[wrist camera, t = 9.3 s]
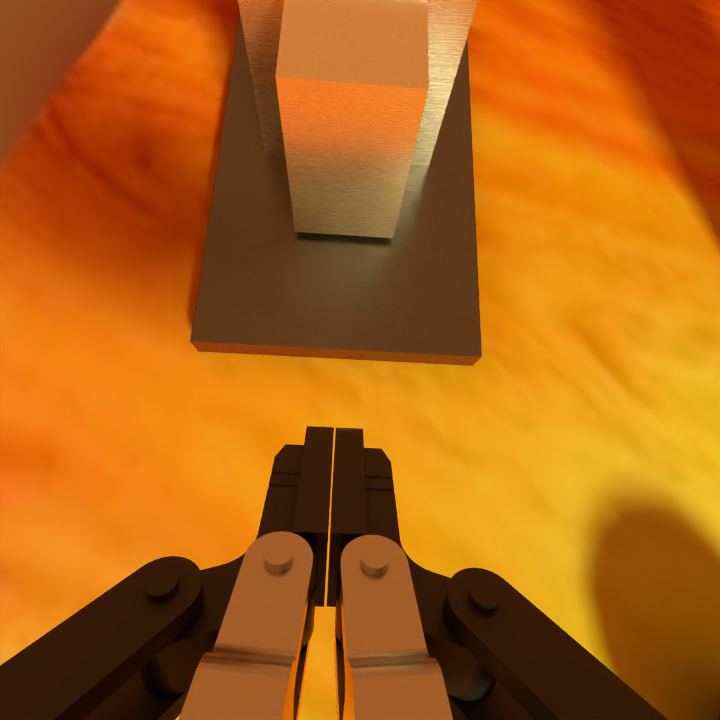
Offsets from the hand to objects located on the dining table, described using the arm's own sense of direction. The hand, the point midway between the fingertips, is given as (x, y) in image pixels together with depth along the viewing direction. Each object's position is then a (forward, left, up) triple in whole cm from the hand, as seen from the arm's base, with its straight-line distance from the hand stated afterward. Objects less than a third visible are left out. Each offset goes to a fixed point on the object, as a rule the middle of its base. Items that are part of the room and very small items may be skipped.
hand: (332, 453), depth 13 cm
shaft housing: (0, -19, -10) cm, 21 cm away
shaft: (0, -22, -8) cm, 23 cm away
